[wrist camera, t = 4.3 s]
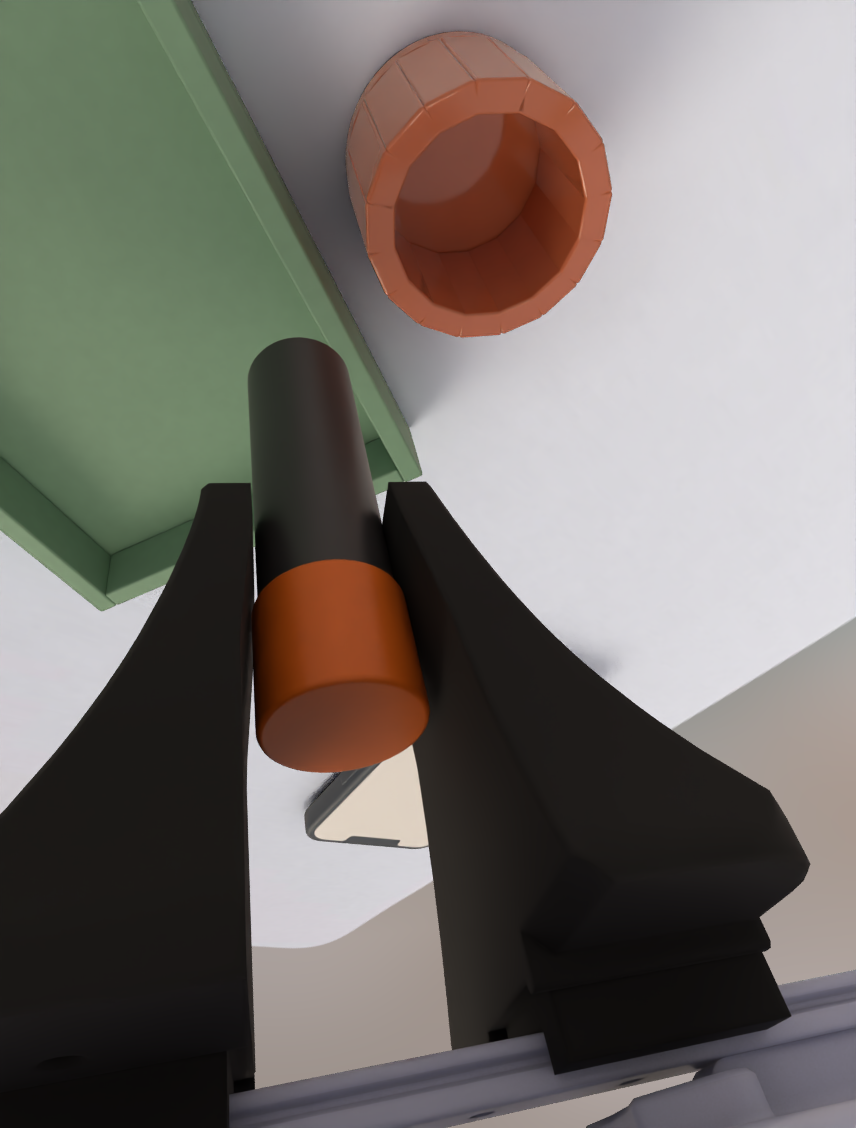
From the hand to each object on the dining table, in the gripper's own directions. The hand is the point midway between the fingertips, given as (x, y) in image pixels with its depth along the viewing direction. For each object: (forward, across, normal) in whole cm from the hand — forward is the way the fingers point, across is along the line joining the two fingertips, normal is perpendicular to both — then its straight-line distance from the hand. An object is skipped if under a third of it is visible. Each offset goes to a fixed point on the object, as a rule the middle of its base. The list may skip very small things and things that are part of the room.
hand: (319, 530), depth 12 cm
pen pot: (+10, -4, -2) cm, 11 cm away
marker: (+4, 0, 0) cm, 4 cm away
